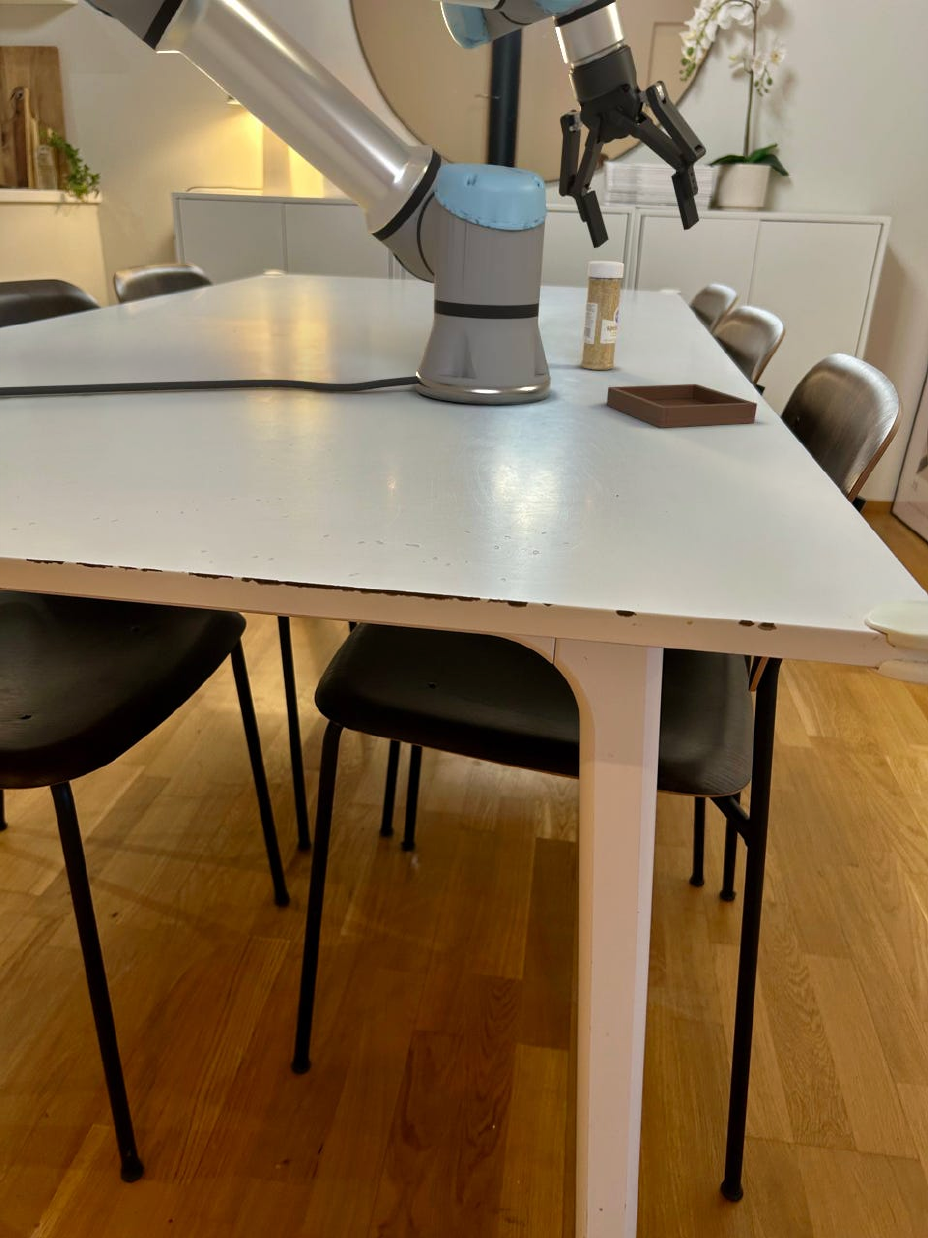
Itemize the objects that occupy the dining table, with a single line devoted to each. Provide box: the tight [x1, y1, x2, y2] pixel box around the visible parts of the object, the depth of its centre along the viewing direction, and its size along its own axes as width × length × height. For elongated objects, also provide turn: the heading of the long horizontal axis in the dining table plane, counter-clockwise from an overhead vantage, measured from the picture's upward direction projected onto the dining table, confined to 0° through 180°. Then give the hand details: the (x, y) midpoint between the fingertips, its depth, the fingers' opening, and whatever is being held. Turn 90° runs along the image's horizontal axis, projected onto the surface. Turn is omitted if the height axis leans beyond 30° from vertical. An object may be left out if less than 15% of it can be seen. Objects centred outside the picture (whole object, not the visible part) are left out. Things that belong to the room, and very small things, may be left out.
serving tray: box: [606, 383, 758, 429], centre depth 96 cm, size 11×11×2 cm
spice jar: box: [580, 260, 625, 371], centre depth 120 cm, size 5×5×14 cm
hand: (644, 235), depth 117 cm, fingers open, 13 cm apart
